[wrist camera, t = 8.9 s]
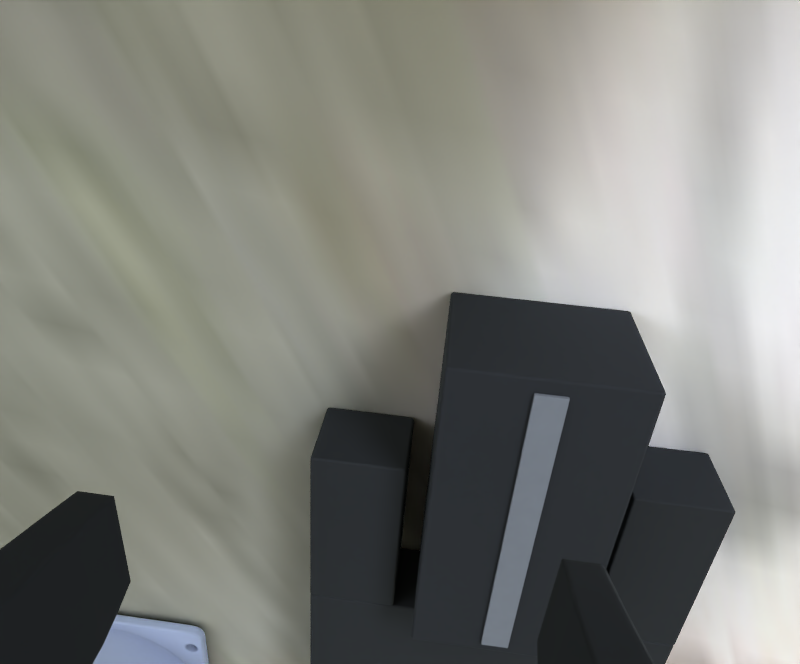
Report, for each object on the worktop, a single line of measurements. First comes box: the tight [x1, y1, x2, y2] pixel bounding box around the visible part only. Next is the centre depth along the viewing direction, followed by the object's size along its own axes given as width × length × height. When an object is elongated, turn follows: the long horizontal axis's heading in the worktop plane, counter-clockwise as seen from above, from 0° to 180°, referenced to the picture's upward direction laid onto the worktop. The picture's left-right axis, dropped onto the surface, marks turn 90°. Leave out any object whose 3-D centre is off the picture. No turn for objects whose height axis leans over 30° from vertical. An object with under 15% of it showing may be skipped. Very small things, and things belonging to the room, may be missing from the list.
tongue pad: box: [411, 292, 666, 657], centre depth 19 cm, size 10×5×4 cm, turn 176°
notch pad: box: [311, 408, 735, 664], centre depth 23 cm, size 14×12×2 cm
